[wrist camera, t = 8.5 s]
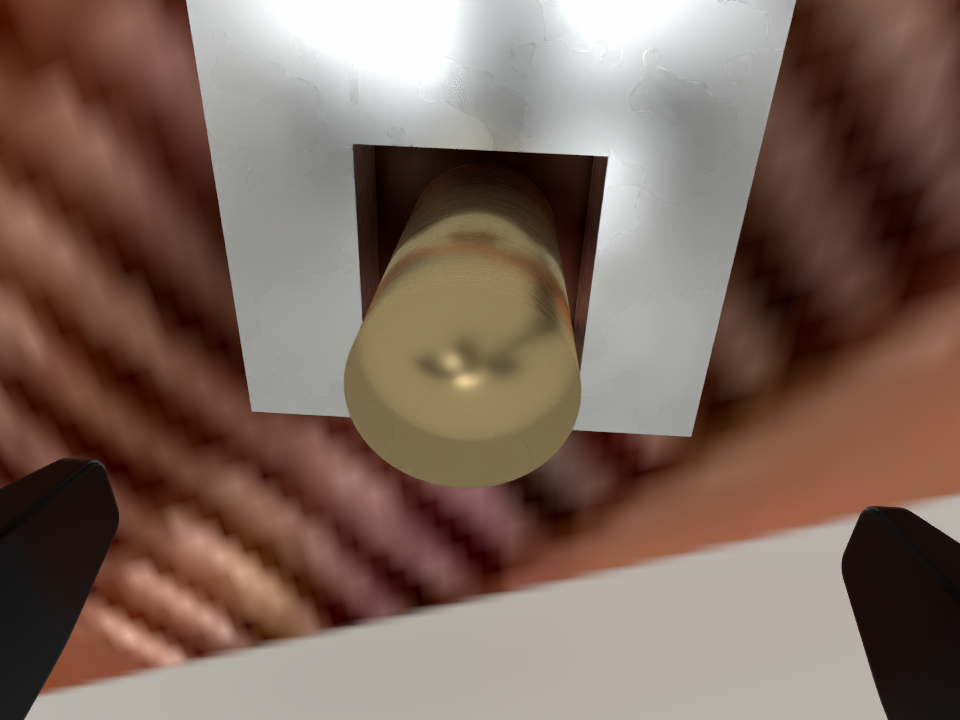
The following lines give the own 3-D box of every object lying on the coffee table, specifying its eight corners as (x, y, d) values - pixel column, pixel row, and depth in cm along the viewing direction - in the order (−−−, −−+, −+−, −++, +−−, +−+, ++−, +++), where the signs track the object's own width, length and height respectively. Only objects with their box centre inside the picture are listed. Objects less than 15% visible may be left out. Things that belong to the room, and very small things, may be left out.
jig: (864, -514, 11) (947, -631, 9) (672, 387, 20) (690, 436, 18) (163, -532, 12) (82, -650, 9) (279, 365, 20) (251, 411, 18)
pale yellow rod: (563, 166, 17) (595, 293, 10) (549, 307, 19) (568, 494, 12) (408, 158, 17) (335, 279, 10) (410, 299, 19) (350, 481, 12)
